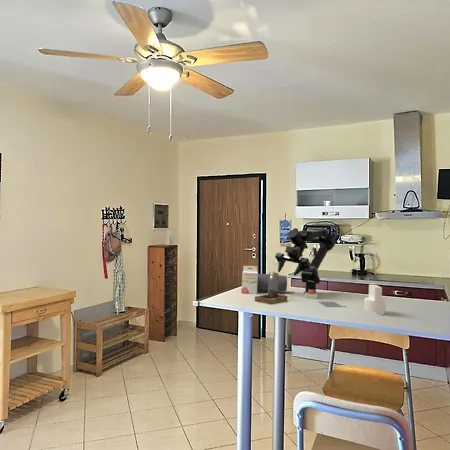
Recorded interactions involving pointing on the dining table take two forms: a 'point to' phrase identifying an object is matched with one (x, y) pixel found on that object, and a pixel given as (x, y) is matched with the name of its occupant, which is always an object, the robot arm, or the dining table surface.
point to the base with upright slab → (375, 300)
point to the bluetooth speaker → (264, 282)
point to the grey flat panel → (332, 304)
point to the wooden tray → (270, 301)
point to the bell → (273, 285)
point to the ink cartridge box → (249, 279)
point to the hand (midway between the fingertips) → (286, 273)
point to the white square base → (311, 295)
